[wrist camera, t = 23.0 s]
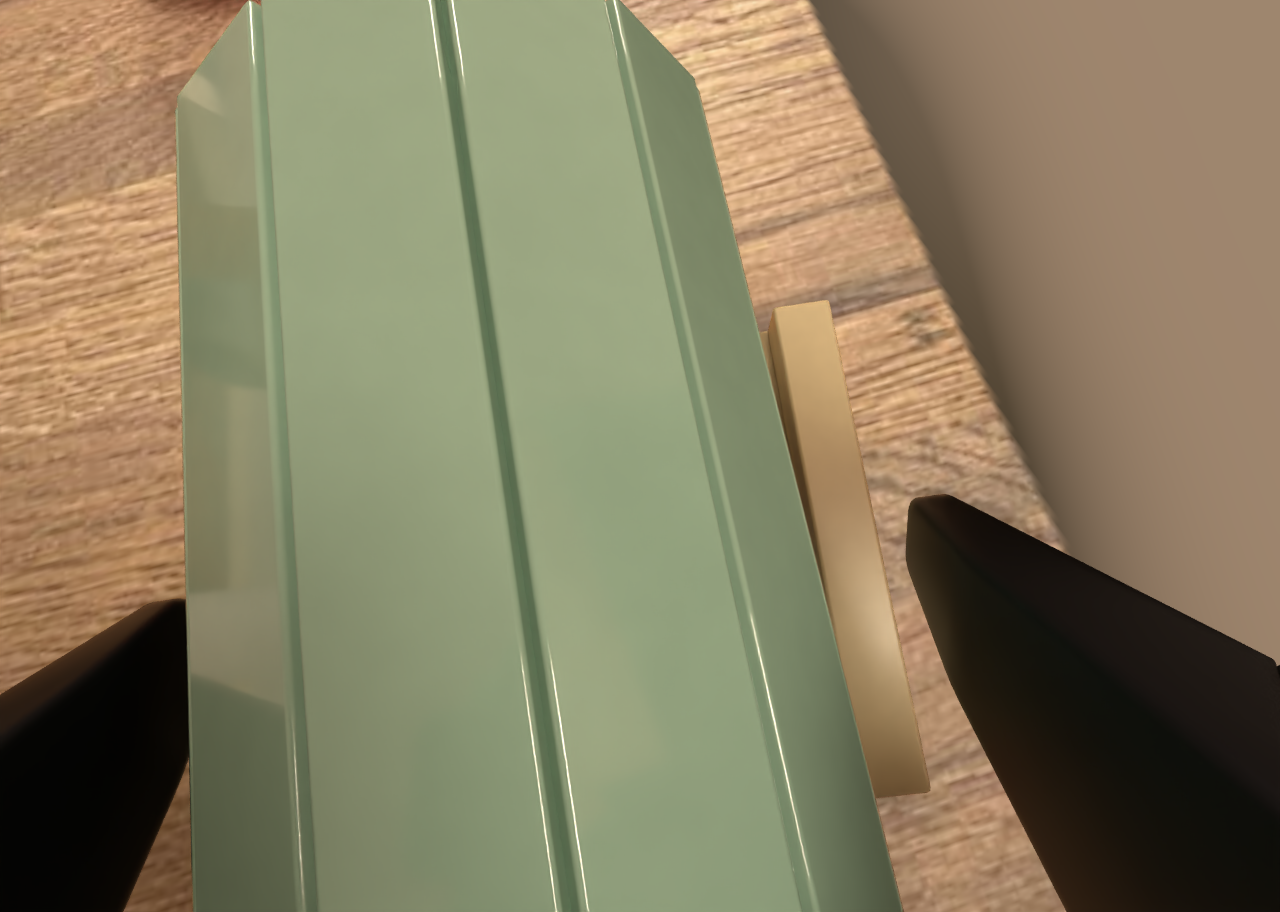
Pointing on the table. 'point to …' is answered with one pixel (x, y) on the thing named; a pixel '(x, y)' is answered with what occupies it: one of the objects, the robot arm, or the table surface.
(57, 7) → the table surface
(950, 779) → the table surface
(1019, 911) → the table surface
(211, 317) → the grooved sage-green cylinder
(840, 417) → the wooden block
